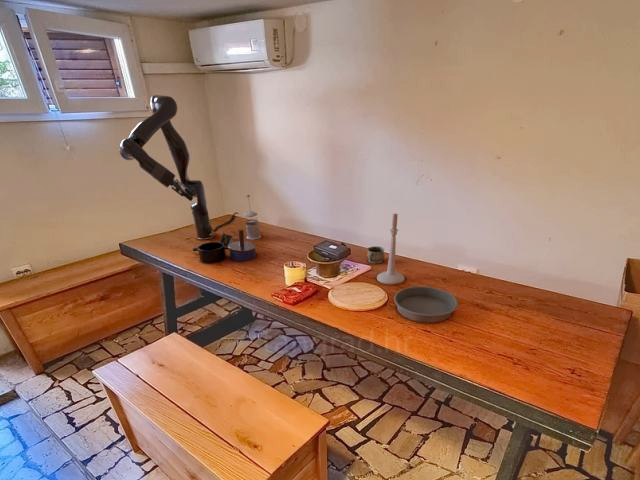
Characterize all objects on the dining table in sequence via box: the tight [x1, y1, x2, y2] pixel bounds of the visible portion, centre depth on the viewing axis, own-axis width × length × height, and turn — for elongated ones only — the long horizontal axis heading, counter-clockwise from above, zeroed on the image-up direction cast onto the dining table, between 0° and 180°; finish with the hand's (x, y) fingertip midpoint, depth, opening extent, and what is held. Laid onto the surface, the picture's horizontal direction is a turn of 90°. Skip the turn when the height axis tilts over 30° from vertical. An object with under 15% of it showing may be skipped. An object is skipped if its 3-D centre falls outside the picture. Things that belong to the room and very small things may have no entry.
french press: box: [243, 194, 262, 240], centre depth 220 cm, size 10×12×25 cm
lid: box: [228, 228, 256, 251], centre depth 195 cm, size 15×15×10 cm
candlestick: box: [376, 213, 405, 285], centre depth 164 cm, size 13×13×30 cm
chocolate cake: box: [219, 230, 235, 246], centre depth 216 cm, size 10×7×12 cm
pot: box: [192, 241, 229, 265], centre depth 196 cm, size 14×19×7 cm
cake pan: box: [393, 285, 459, 324], centre depth 146 cm, size 25×25×4 cm
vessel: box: [366, 245, 385, 264], centre depth 189 cm, size 12×9×6 cm
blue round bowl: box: [228, 248, 257, 262], centre depth 199 cm, size 14×14×5 cm
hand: (192, 197), depth 188 cm, fingers open, 8 cm apart
